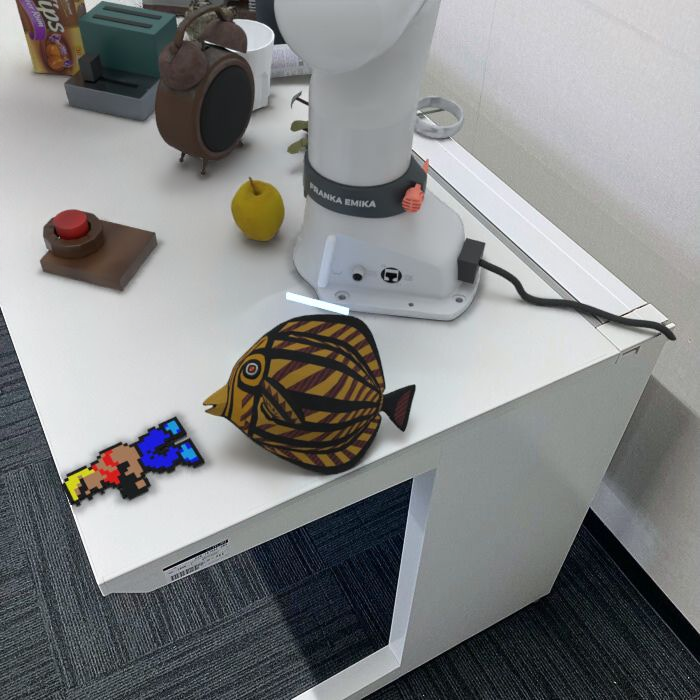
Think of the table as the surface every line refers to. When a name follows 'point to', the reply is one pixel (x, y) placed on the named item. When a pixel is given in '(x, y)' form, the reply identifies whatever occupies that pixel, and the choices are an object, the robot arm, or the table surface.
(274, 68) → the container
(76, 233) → the button
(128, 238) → the block
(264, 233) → the apple
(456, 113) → the ring
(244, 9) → the model house
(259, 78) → the cup
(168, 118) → the alarm clock
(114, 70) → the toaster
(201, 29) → the rock
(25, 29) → the candy box
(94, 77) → the slider
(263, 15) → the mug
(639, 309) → the table surface
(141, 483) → the pixel art figurine
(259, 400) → the decorative fish sculpture
